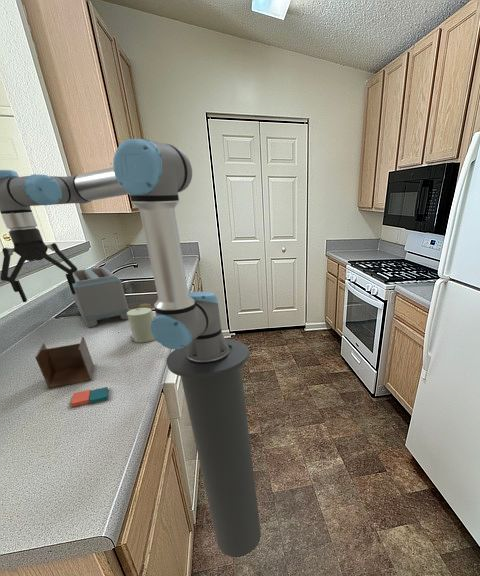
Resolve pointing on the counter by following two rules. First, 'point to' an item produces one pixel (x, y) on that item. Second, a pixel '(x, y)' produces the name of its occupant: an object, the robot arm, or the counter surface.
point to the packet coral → (80, 398)
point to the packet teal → (98, 395)
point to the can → (141, 324)
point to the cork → (145, 306)
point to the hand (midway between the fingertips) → (50, 297)
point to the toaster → (99, 295)
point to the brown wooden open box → (65, 364)
